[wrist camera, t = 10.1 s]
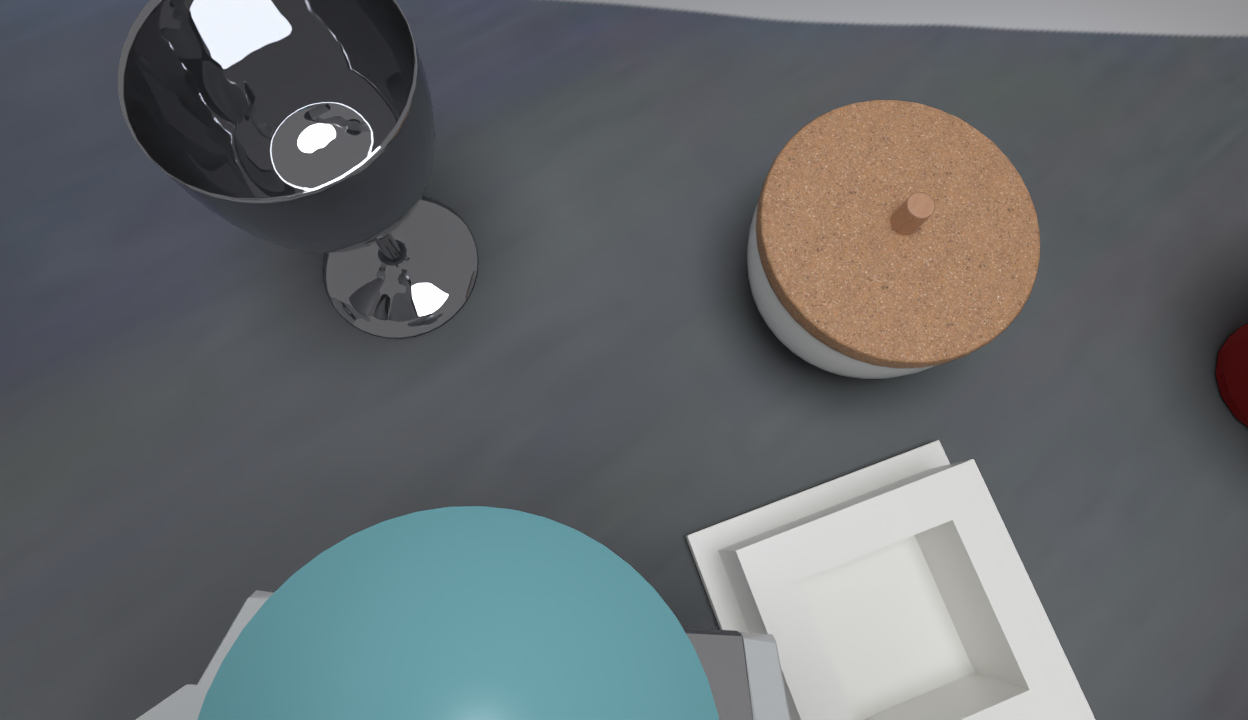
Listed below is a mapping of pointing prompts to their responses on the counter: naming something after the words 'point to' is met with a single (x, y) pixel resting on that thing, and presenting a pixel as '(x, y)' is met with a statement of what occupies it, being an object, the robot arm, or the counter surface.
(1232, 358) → the plastic cup
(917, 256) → the lidded jar
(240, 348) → the counter surface
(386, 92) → the wine glass
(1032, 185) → the counter surface
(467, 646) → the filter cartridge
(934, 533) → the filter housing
